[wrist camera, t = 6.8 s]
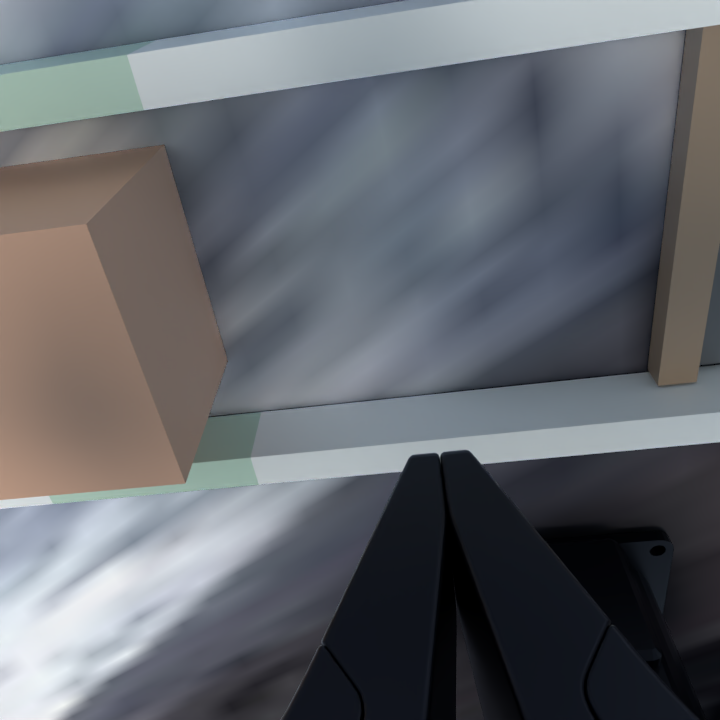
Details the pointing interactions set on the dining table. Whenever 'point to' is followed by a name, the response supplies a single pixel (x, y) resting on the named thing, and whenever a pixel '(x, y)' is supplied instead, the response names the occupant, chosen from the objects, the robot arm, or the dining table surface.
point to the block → (101, 327)
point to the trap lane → (455, 409)
